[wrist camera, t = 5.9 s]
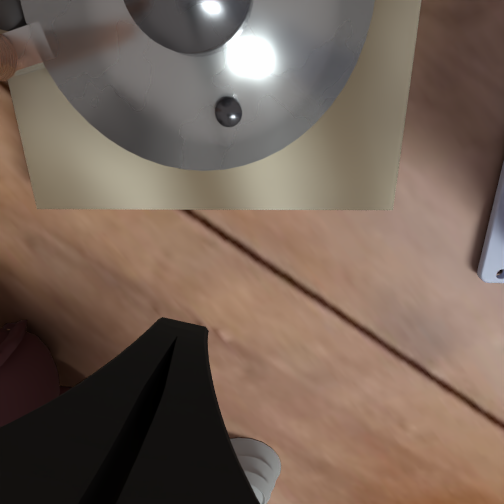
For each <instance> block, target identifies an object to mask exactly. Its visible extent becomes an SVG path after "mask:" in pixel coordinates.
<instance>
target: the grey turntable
mask: <svg viewBox="0 0 504 504" xmlns="http://www.w3.org/2000/svg"><path fill="white" fill-rule="evenodd" d="M20 2H21V6H22V9H23V13H24V17H25V21H26V23H27V25H26V26H23V27H20V28H17V29H14V30H12V31H9V32H6V33H3V34H0V81H5V80H8V79H10V78H11V77H12V76H13V75H18V76H22V75H25V74H28V73H31V72H34V71H37V70H40V69H43V68H46V69H47V70H48V72H49V74H50V75H51V77H52V78H53V80H54V82H55V83H56V85H57V86H58V88H59V89H60V91H61V92H62V93H63V94H64V96H65V97H66V98H67V100H68V101H69V102H70V103H71V105H72V106H73V107H74V108H75V109H76V110H77V111H78V112H79V113H80V114H81V115H82V116H83V117H84V118H85V119H86V120H87V121H88V123H89V124H91V125H92V126H93V127H94V128H95V129H97V130H98V131H99V132H100V133H102V134H103V135H104V136H105V137H107V138H108V139H109V140H111V141H113V142H114V143H116V144H117V145H119V146H120V147H122V148H124V149H125V150H127V151H129V152H131V153H133V154H135V155H137V156H139V157H142V158H144V159H146V160H149V161H152V162H155V163H158V164H161V165H164V166H169V167H174V168H179V169H184V170H198V171H211V170H225V169H230V168H235V167H240V166H244V165H247V164H250V163H253V162H256V161H259V160H262V159H264V158H266V157H268V156H270V155H272V154H274V153H276V152H278V151H280V150H282V149H283V148H285V147H286V146H288V145H289V144H291V143H292V142H294V141H295V140H297V139H298V138H299V137H300V136H302V135H303V134H304V133H305V132H306V131H307V130H308V129H310V128H311V127H312V126H313V125H314V124H315V123H316V122H317V121H318V120H319V119H320V118H321V117H322V115H323V114H324V113H325V112H326V111H327V110H328V109H329V108H330V106H331V105H332V104H333V102H334V101H335V99H336V98H337V96H338V95H339V94H340V92H341V91H342V89H343V88H344V86H345V84H346V82H347V81H348V79H349V77H350V75H351V73H352V71H353V69H354V68H355V66H356V63H357V61H358V58H359V56H360V53H361V51H362V48H363V46H364V43H365V41H366V37H367V33H368V30H369V26H370V22H371V19H372V15H373V9H374V2H375V0H20Z"/></svg>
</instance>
